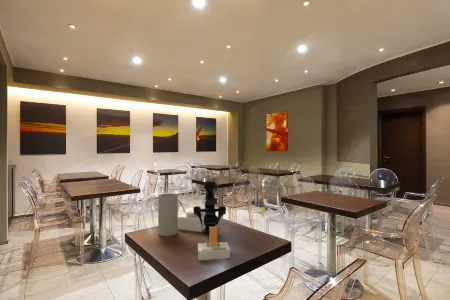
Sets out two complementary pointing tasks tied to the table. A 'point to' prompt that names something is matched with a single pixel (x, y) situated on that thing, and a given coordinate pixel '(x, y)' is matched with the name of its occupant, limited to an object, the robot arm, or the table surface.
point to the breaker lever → (213, 235)
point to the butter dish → (191, 221)
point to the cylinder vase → (167, 214)
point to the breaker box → (213, 251)
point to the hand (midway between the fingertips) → (209, 224)
